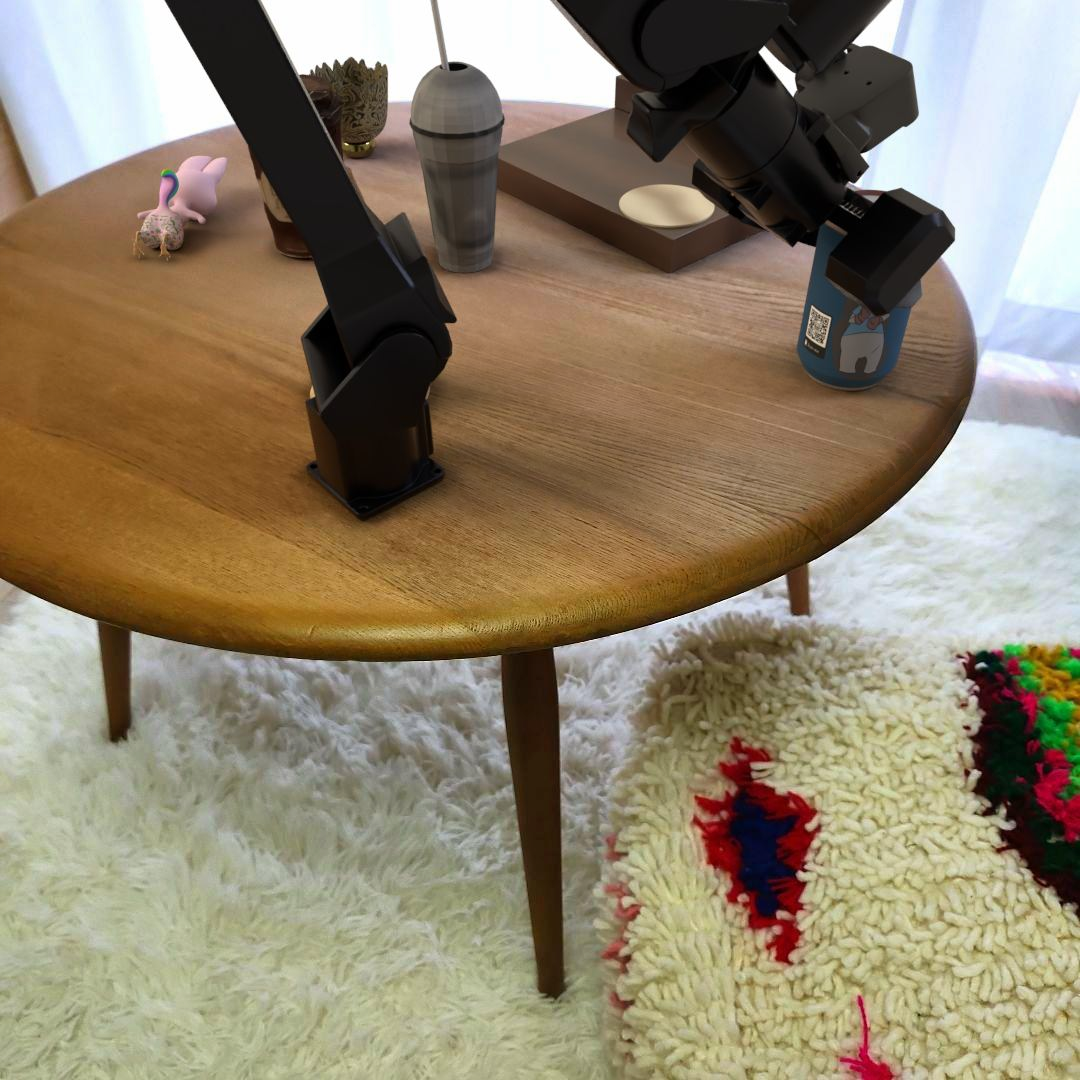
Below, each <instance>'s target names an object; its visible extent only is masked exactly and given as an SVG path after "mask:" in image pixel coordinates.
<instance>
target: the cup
mask: <svg viewBox="0 0 1080 1080" xmlns="http://www.w3.org/2000/svg"><path fill="white" fill-rule="evenodd" d="M388 69H389V68H388V66H387V64H386V63H384V64H382V63H381V62H380V61H379V60H377V62H375V64H374V68H373V67H372V66H371V67H367V65H366V61H365V59H364V58H361V59H360V60H359V61H357V60H356V59H355V58H354V56H349V57H348V58H347V59H346V60H344V62H343V63H342V64H341V62H339V60H338V59H337V58H334V61H333V64H332V68H331V66H329V65H328V63H327V62H324V61H323V62H322V63H321V66H319V65H318V64H316V65H315V67H314V70H313V69H310V70H309V73H308V75H312V76H321V77H326V78H328V80H329V81H331V88H332V91H334V92H336V93H337V94H338V95H339V96H340V97H341V99H342V101H344V105H343V106H344V107H343V114H342V118H341V138H342V149H343V156H346V157H348V158H353V159H360V158H361V159H362V158H366V157H369V156H371V155H372V154H374V153H375V152H376V149H377V144H378V142H377V140H376V138H377V137H378V136H380V135H381V134H382V132H383V130H384V128H385V127H386V124H387V119H388V109H389V70H388Z"/></svg>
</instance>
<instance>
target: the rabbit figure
mask: <svg viewBox="0 0 1080 1080" xmlns="http://www.w3.org/2000/svg"><path fill="white" fill-rule="evenodd" d="M227 164H228V158H227V157H217V158H214V159H213V160H212V157H211V156H207V155H193V156H191V157H188V158H186V159H185V160H184V161H183V162H182V164H181V165H179V168H178V171H176V172H174V171H173V170H171V169H170V168H165V169H163V170H162V171H161V173H160V177H161V179H160V180H161V181H160V186H159V193H158V197H159V203H158V206H157V208H156V209H149V210H146V211H141V212H138V213H137V215H136V217H137V218H138V219H139V220H143V223H142V227H141V230H137V231H136V232H135V239H133V238H132V239H131V241H132V242H133V256H134V255H136V254H138V259H140V258H141V254H142V255H143V256H145V253H144V252H143V251H142V249H141V248H140V244H139V241H140V240H141V242H142V243H143V245H145V246H146V247H147V248H149V249H157V248H158V247H159V248H160V250H161V251H160V254H159V257H161V256H163V255H164V256H165V257H166V261H167V262H169V258H171V254H170V252H168V250H171V251H175V250H178V249H179V248H181V247H182V246H183V245H182V244H183V242H184V237H185V236H184V235H185V233H184V227H185V226H186V225H187V223H188V222H189V221H198V223H199V224H201V225H204V224H206V222H207V221H206V218H205V217H204V216H207V215H209V214H210V213H212V212H213V210H214V209H215V208H216V206H217V204H218V200H217V195H216V187H217V186H218V184H219V182H221V179H222V178H223V176H224V173H225V172H226V171H225V170H226V166H227Z"/></svg>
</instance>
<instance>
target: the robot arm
mask: <svg viewBox="0 0 1080 1080" xmlns="http://www.w3.org/2000/svg"><path fill="white" fill-rule="evenodd" d="M163 1H164V2H165V5H166V6H167V7H168V9H169V11H170V13H171V14H172V16H173V18H174V20H175V22H176V23H177V25H178V26H179V29H180V30H181V32H182V34H183V35H184V37H185V39H186V41H187V42H188V44H189V46H190V48H191V49H192V51H193V53H194V55H195V56H196V58H197V60H198V61H199V63H200V65H201V67H202V69H203V70H204V72H205V75H207V77H208V79H209V80H210V82H211V84H212V86H213V87H214V90H215V91H216V93H217V94H218V96H219V98H220V100H221V102H222V103H223V105H224V106H225V109H226V110H227V112H228V113H229V115H230V117H231V119H232V121H233V122H234V124H235V125H236V127H237V129H238V131H239V133H240V134H241V136H242V138H243V140H244V141H245V143H246V145H247V147H248V146H249V148H250V150H251V152H252V153H253V155H254V157H255V159H256V160H257V162H258V164H259V166H260V167H261V169H262V171H263V173H264V174H265V176H266V178H267V180H268V181H269V183H270V185H271V186H272V188H273V190H274V192H275V193H276V195H277V197H278V199H279V200H280V202H281V204H282V206H283V207H284V209H285V211H286V213H287V214H288V216H289V218H290V219H291V221H292V223H293V225H294V226H295V228H296V230H297V232H298V233H299V235H300V237H301V239H302V240H303V242H304V244H305V246H306V247H307V249H308V251H309V252H310V254H311V256H312V257H311V259H312V261H313V264H314V267H315V269H316V273H317V276H318V279H319V281H320V284H321V288H322V290H323V294H324V296H325V299H326V302H327V304H326V306H325V307H324V308H323V309H322V310H321V312H320V313H319V314H318V315H317V316H316V318H315V319H314V320H313V321H312V322H311V323H310V324H309V326H308V327H307V328H306V330H304V332H303V333H302V334H301V336H300V342H301V346H302V350H303V354H304V359H305V362H306V366H307V370H308V374H309V377H310V381H311V387H312V386H313V390H314V393H315V397H313V398H311V399H310V398H308V399H307V400H305V402H304V404H305V409H306V413H307V421H308V423H309V424H308V425H309V429H310V434H311V440H312V444H313V450H314V456H315V460H313V461H311V462H309V463H307V464H306V466H305V469H306V473H307V475H308V476H309V478H311V479H312V480H313V481H314V482H316V483H317V485H319V486H320V487H321V488H322V489H323V490H325V491H326V492H327V493H328V494H329V495H330V496H331V497H333V498H334V499H335V500H336V501H337V502H338V503H339V504H341V506H342V507H344V508H345V509H346V510H347V511H349V513H351V514H352V515H353V516H354V517H355V518H356V519H358V520H361V521H363V520H368V519H370V518H372V517H374V516H376V515H379V514H380V513H382V512H384V511H385V510H388V509H389V508H391V507H393V506H396V505H397V504H400V503H401V502H403V501H404V500H406V499H409V498H410V497H412V496H414V495H416V494H418V493H420V492H422V491H424V490H426V489H428V488H430V487H431V486H433V485H436V484H437V483H440V482H441V481H443V480H444V479H445V478H446V471H445V468H444V467H443V466H441V465H440V464H439V463H437V462H436V461H435V460H434V459H433V458H431V456H433V455H434V452H435V444H434V435H433V424H432V423H433V422H432V414H431V413H432V412H431V402H430V400H428V398H427V399H426V395H427V392H428V389H429V386H430V387H431V383H433V382H435V380H437V378H438V377H439V376H440V375H441V374H442V372H443V371H444V370H445V368H446V366H447V363H448V361H449V359H450V358H451V357H452V355H453V340H452V337H451V334H450V331H449V328H448V326H447V324H456V323H457V322H458V318H457V315H456V313H455V312H454V309H453V308H452V305H451V303H450V301H449V300H448V297H447V295H446V293H445V290H444V289H443V287H442V285H441V283H440V280H439V279H438V276H437V275H436V272H435V271H434V268H433V266H432V264H431V263H430V262H429V260H428V258H427V255H426V254H425V252H424V249H423V247H422V246H421V243H420V241H419V239H418V237H417V234H416V233H415V231H414V229H413V227H412V225H411V222H410V220H409V218H408V216H407V214H406V212H404V211H402V212H400V213H399V214H397V215H396V216H394V217H393V218H392V219H390V220H388V221H387V222H386V223H384V222H383V221H382V220H381V219H380V218H379V217H378V216H377V215H376V213H374V211H373V210H372V209H371V208H370V207H369V205H367V203H366V201H365V200H364V201H365V202H364V201H363V199H362V198H361V196H360V194H359V192H358V190H357V188H356V186H355V184H354V182H353V180H352V178H351V176H350V174H349V172H348V170H347V168H346V166H347V165H346V164H345V161H344V162H343V160H342V158H341V156H340V154H339V152H338V151H337V149H336V147H335V145H334V143H333V141H332V139H331V137H330V135H329V133H328V131H327V129H326V127H325V125H324V123H323V121H322V119H321V117H320V115H319V113H318V111H317V109H316V107H315V105H314V103H313V101H312V99H311V97H310V96H309V94H308V92H307V90H306V88H305V86H304V84H303V82H302V80H301V78H300V76H299V75H300V74H299V72H298V70H297V68H296V66H295V64H294V62H293V60H292V59H291V56H290V55H289V52H288V50H287V48H286V47H285V45H284V43H283V41H282V38H281V37H280V35H279V33H278V31H277V29H276V27H275V25H274V23H273V21H272V19H271V17H270V15H269V13H268V12H267V9H266V7H265V4H264V3H263V2H262V0H163ZM549 1H550V2H551V3H552V5H553V6H554V7H555V8H556V9H557V11H559V12H560V14H561V15H562V16H563V17H564V18H565V20H567V22H568V23H569V25H571V26H572V27H573V29H574V30H575V31H576V32H577V33H578V34H579V36H580V37H581V38H582V39H583V40H584V41H585V42H586V43H587V45H589V46H590V47H591V48H592V49H593V50H594V51H595V52H597V54H599V56H600V57H602V58H603V59H604V60H605V61H606V62H607V63H608V64H609V65H611V67H613V68H614V69H615V70H616V71H617V72H618V73H619V75H623V76H624V77H625V78H626V79H627V80H628V81H629V82H630V83H631V84H632V85H634V86H636V87H638V88H640V89H642V90H644V91H647V92H644V93H636V94H634V95H633V96H632V99H631V101H632V112H631V114H630V116H629V120H628V126H627V131H626V132H627V135H628V136H629V137H630V138H631V139H632V140H633V141H634V142H635V143H636V144H637V145H638V146H639V147H640V148H641V149H642V151H643V152H644V153H645V154H646V155H647V156H648V157H649V158H650V159H651V160H652V161H653V162H655V163H659V162H661V161H663V160H664V159H665V157H666V156H667V155H668V154H669V153H670V152H671V151H672V150H673V149H674V147H675V146H676V145H677V144H678V143H679V142H680V141H681V140H682V141H683V142H684V143H685V144H686V145H687V146H688V147H689V148H690V149H691V150H692V151H693V152H694V153H695V154H696V155H697V157H698V160H697V161H696V162H695V163H694V165H693V174H692V185H693V186H694V187H695V188H696V189H697V190H698V191H699V192H700V193H701V194H702V195H703V196H704V197H705V198H706V199H707V200H709V201H710V202H712V203H713V204H715V205H716V206H717V207H719V208H720V209H722V210H723V211H725V212H726V213H728V214H729V215H731V216H732V217H734V218H735V219H737V220H738V221H739V222H741V223H743V224H746V225H749V226H752V227H755V228H758V229H761V230H762V231H765V232H768V233H770V234H772V235H773V236H775V237H776V238H778V239H779V240H781V241H782V242H783V243H784V244H786V245H788V246H789V247H790V248H794V247H795V246H796V245H797V244H798V243H800V244H803V245H806V246H809V247H812V248H816V243H817V238H818V233H819V228H820V226H821V225H823V224H826V225H827V226H829V227H830V228H832V229H833V230H835V231H837V232H838V233H840V234H841V235H843V236H844V238H843V239H842V240H841V242H840V243H839V244H838V245H837V246H836V247H835V249H834V250H833V251H832V252H831V253H830V254H829V256H828V261H827V267H826V272H825V277H826V278H827V279H828V280H829V281H830V282H831V283H832V284H833V285H834V286H835V287H836V288H837V289H838V290H840V292H841V293H843V294H844V295H845V296H847V297H848V298H849V299H851V300H852V301H854V302H855V303H857V304H858V305H859V306H861V307H862V308H864V309H865V310H867V311H868V312H869V313H871V314H872V315H874V316H875V317H878V316H882V315H886V314H890V312H891V311H892V310H893V309H894V308H895V307H896V308H907V309H910V308H911V309H913V307H914V306H915V305H916V304H917V303H918V302H919V301H920V300H921V298H922V296H923V289H922V278H923V277H924V276H925V275H926V273H927V272H928V271H930V269H931V268H932V267H933V266H934V265H935V264H936V262H938V261H939V259H940V258H941V257H942V256H943V255H944V254H945V253H946V251H947V250H948V249H949V248H950V247H951V246H952V245H953V243H955V242H956V227H955V226H954V224H953V223H952V221H951V220H950V219H949V217H948V215H947V214H946V213H945V211H944V210H943V209H941V208H939V207H937V206H936V205H934V204H931V203H930V202H928V201H927V200H924V199H923V198H921V197H920V196H917V195H916V194H914V193H912V192H910V191H908V190H906V189H905V188H903V187H898V188H893V189H890V190H885V191H886V192H883V193H882V194H881V195H880V197H879V198H878V199H877V200H876V201H875V202H874V203H873V202H872V201H870V200H868V199H867V198H865V197H863V196H861V195H860V194H858V193H856V192H855V191H856V190H853V189H851V188H850V187H847V185H848V184H849V183H851V184H852V185H853V184H856V183H858V181H859V180H860V179H861V178H862V177H863V176H864V174H865V173H866V172H867V171H868V169H869V168H870V167H871V166H870V165H869V164H868V162H867V161H866V159H865V158H864V157H863V156H862V154H865V153H868V152H870V151H871V150H873V149H875V148H876V147H877V146H878V145H880V144H881V143H883V142H884V141H885V140H887V139H889V138H890V137H891V136H892V135H893V134H895V133H896V132H898V131H899V130H901V129H902V128H907V127H908V128H909V127H910V125H912V124H913V123H914V122H915V121H916V120H917V119H918V118H919V116H920V110H919V103H918V102H919V101H918V95H917V88H916V81H915V80H916V79H915V72H914V66H913V64H912V62H910V61H909V60H908V59H905V58H903V57H900V56H898V55H896V54H893V53H892V52H888V51H886V50H884V49H882V48H879V47H877V46H875V45H862V46H860V45H858V44H855V43H854V42H855V41H856V40H857V39H858V37H860V35H862V34H863V32H864V31H865V30H866V29H867V28H868V27H869V26H870V25H871V23H873V21H874V20H875V19H877V17H878V16H879V15H881V12H883V11H884V10H885V9H886V7H887V6H889V4H890V3H891V2H892V1H893V0H549ZM764 47H765V49H766V50H767V51H769V53H770V54H771V55H772V56H773V57H774V58H775V59H776V60H777V61H778V62H779V63H780V64H782V65H783V66H784V67H785V68H786V69H788V70H789V71H790V72H791V73H793V74H794V82H795V83H794V84H795V87H796V88H795V89H796V90H795V92H794V94H793V95H792V93H791V92H790V91H789V90H788V88H787V87H786V86H785V84H784V83H783V82H782V81H781V79H780V78H779V77H778V75H777V74H776V73H775V71H774V70H773V69H772V67H771V66H770V65H769V64H768V62H767V61H766V59H765V58H764V57H763V56H762V54H761V53H760V52H761V51H762V50H763V48H764ZM840 205H841V206H844V208H845V209H844V208H842V207H841V206H840ZM846 209H848V210H849V211H850V212H849V211H847V210H846ZM851 211H852V212H853V213H854V214H857V216H858V217H857V216H855V215H854V214H852V213H851ZM859 217H861V218H859Z"/></svg>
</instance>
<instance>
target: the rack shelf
mask: <svg viewBox="0 0 1080 1080" xmlns="http://www.w3.org/2000/svg"><path fill="white" fill-rule="evenodd" d="M614 89H615V90H614V107H612V108H609V109H606V110H602V111H600V112H596V113H594V114H591V115H588V116H585V117H582V118H579V119H576V120H573V121H570V122H567V123H564V124H561V125H559V126H558V125H557V126H556V127H552V128H550V129H547V130H543V131H541V132H537V133H535V134H532V135H528V136H526V137H523V138H520V139H517V140H514V141H512V142H509V143H505V144H502V145H500V149H499V152H498V173H497V190H501V191H502V192H504V193H506V194H508V195H510V196H513V197H514V198H517V199H518V200H521V201H524V202H525V203H526V204H529V205H531V206H533V207H535V208H537V209H539V210H541V211H543V212H545V213H547V214H549V215H551V216H552V217H555V218H557V219H560V220H561V221H564V223H565V222H566V223H567V224H569V225H571V226H573V227H575V228H577V229H578V230H579V229H580V230H581V231H584V232H585V233H588V234H589V235H591V236H593V237H595V238H597V239H599V240H602V241H604V242H605V243H608V244H610V245H612V246H614V247H615V248H618V249H620V250H622V251H624V252H626V253H628V254H630V255H632V256H634V257H636V258H638V259H640V260H642V261H644V262H646V263H648V264H650V265H652V266H653V267H656V268H658V269H660V270H662V271H663V272H666V273H669V274H671V273H673V272H675V271H678V270H680V269H682V268H685V267H686V266H688V265H691V264H693V263H695V262H697V261H699V260H702V259H704V258H706V257H709V256H710V255H712V254H714V253H717V252H718V251H719V252H720V251H721V250H723V249H724V248H728V247H729V246H731V245H734V244H736V243H738V242H740V241H742V240H744V239H746V238H749V237H751V236H753V235H755V234H758V233H759V232H762V231H763V230H761V229H758V228H755V227H752V226H749V225H746V224H743V223H741V222H739V221H738V220H737V219H735V218H734V217H732V216H731V215H729V214H728V213H726V212H725V211H723V210H722V209H720V208H719V207H717V206H716V205H715V204H713V203H712V202H710V201H709V200H707V199H706V198H705V197H704V196H703V195H702V194H701V193H700V192H699V191H698V190H697V189H696V188H695V187H694V186H693V185H692V174H693V165H694V163H695V162H696V161H697V160H698V157H697V155H696V154H695V153H694V152H693V151H692V150H691V149H690V148H689V147H688V146H687V145H686V144H685V143H684V142H683V141H682V140H681V141H680V142H679V143H678V144H677V145H676V146H675V147H674V149H673V150H672V151H671V152H670V153H669V154H668V155H667V156H666V157H665V159H664V160H663V161H661V162H659V163H655V162H653V161H652V160H651V159H650V158H649V157H648V156H647V155H646V154H645V153H644V152H643V151H642V149H641V148H640V147H639V146H638V145H637V144H636V143H635V142H634V141H633V140H632V139H631V138H630V137H629V136H628V135H627V132H626V131H627V126H628V120H629V116H630V114H631V112H632V101H631V99H632V96H633V95H634V94H636V93H644V92H647V91H644V90H642V89H640V88H638V87H636V86H634V85H632V84H631V83H630V82H629V81H628V80H627V79H626V78H625V77H624V76H623V75H621V74H619V75H616V76H615V87H614Z"/></svg>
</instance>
